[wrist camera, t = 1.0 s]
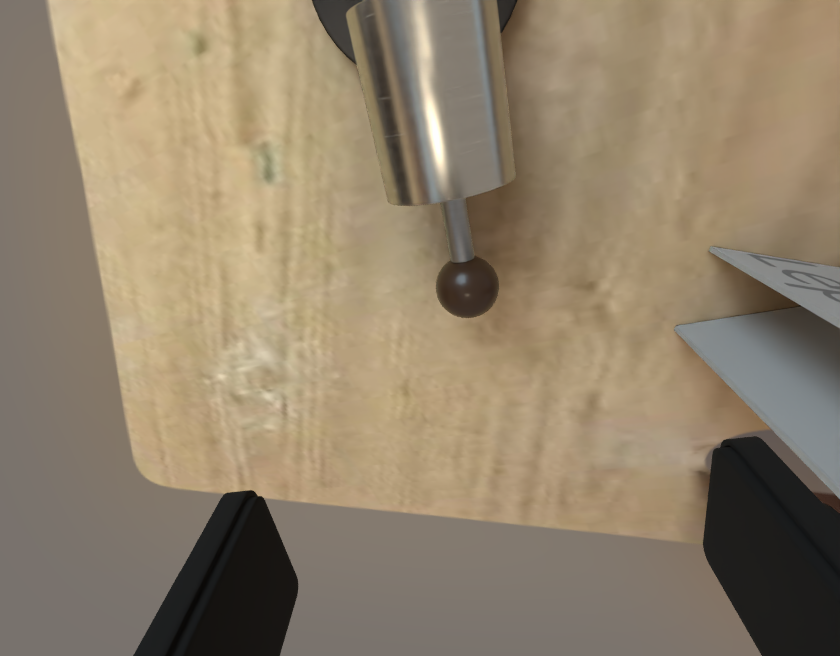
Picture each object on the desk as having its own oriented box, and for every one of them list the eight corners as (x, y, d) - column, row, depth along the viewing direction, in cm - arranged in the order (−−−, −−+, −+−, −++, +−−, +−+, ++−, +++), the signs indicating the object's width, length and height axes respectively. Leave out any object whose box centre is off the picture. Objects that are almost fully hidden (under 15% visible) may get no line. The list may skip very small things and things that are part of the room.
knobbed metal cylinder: (521, 284, 27) (540, 331, 22) (418, 301, 28) (412, 351, 23) (478, -85, 20) (491, -150, 15) (342, -48, 21) (307, -98, 15)
